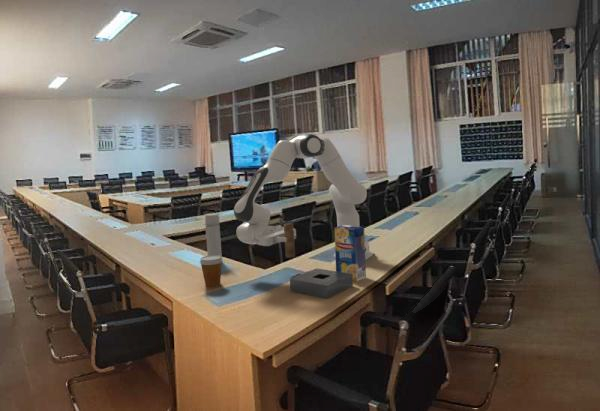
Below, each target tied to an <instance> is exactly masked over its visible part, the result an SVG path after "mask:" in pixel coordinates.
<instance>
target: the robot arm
mask: <svg viewBox="0 0 600 411" xmlns="http://www.w3.org/2000/svg"><path fill="white" fill-rule="evenodd" d="M309 158H314V159H316V162H317V163H318V166H319V168H320V169H321V171H322V173H323V175H324V176H325V178H326V179H327V181H329V182H330V183H331V184H330V186H329V188H328V194H329V196H330V198H331V200H332V203H333V206H334V210H335V214H336V222H337V223H336V224H337V226H336V227H338V226H343V225H348V226H358V227H361V226H360V214H359V213H358V211H357V209H356V206H355V205H359V204H362V203H364V202H365V201H366V199H367V194H368V193H367V192H368V190H367V189H366V186H364V185H363V184H362V183H361V182H359V181H358V179H357V178H356V177H355V176H354V175H353V173H352V172H351V171H350V169H348V167H347V165H346V163H345V162H344V160H343V158H342V157H341V155H340V152H339V150H337V148H336V146H335V145H334V144H333V142H332V141H331V139H329V138H327V137H319V136H318V135H316V134H313V133H307V134H306V133H305V134H299V135H297V136H294V137H292V138H291V139H290V140H286V139H280V140H279V141H278V142H277V143H276V144H275V145H274V148H273V149H272V151H271V153H270V155H269V156H268V159H267V161H266V162H265V164H264V165H263V166H262V167H259V169H258V170H257V171H256V172H255V174H254V175H253V176H252V178H251V180H250V181H249V183H248V185H247V186H246V188H245V190H244V192H243V193H242V195H241V196H240V197H239V199H238V200H237V201H236V202H235V204H234V207H233V215H234V217H235V219H236V220H238V221H239V222H243V223H241V224H240V225H239V226H237V228H236V233H235V234H236V237H237V239H238V240H239V241H240V242H242V243H244V244H249V245H259V246H263V247H270V246H273V245H276V244H278V243H285V242H287V241H288V237H284V226H282V225H280V224H279V225H270V224H269V223H270V220H271V212H270V210H269V209H268V208H267V207H265V206H264V205H263V206H262V205H261V204H258V203H257V202H255V200H256V199H257V196H258V195H259V193H260V191H261V190H262V188H263V186H264V185H265V184H267V183H280V182H282V181H284V180H286V178H287V176H288V175H289V173H290V170H291V167H292V165H293V163H294V161H295V159H309ZM296 239H297V229H296V228H294V240H296ZM373 254H375V252H374V251H371V250H370V244H369V242H368V241H366V240H365V261H367V260H368V259H370V258H371V257H373V256H374V255H373ZM333 257H334V259H335V260H336V257H335V253H334V254H333Z"/></svg>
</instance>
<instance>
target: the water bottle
mask: <svg viewBox="0 0 600 411" xmlns="http://www.w3.org/2000/svg"><path fill="white" fill-rule="evenodd" d="M204 216H205V219H204V221H205V222H204V224H203V225H204V226H205V238H206V249H207V250H206V251H207V256H210V255H219V256H221V258H222V243H221V228H220V227H221V226H220V217H219V216H220V215H219V213H206V214H205V215H204ZM222 259H223V258H222Z"/></svg>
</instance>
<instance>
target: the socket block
mask: <svg viewBox="0 0 600 411" xmlns="http://www.w3.org/2000/svg"><path fill="white" fill-rule="evenodd" d="M353 282H354V281H353V277H352V274H350V273H343V272H337V271H336V270H335V271H334V270H330V269H329V270H328V269H323V268H319V267H318V268H314V269H311V270H308V271H306V272H304V273H301V274H299V275H296V276H294V277H292V278H289V288H290V292H293V293H297V294H302V295H308V296H313V297H317V298H322V299H327V300H328V299H330V298H332V297H334V296H336V295H338V294H340V293H342V292H344V291H345V290H348V289H349V288H352V287H353V286H354V283H353Z"/></svg>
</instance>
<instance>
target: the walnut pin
mask: <svg viewBox="0 0 600 411" xmlns="http://www.w3.org/2000/svg"><path fill="white" fill-rule="evenodd" d="M283 227H284V237H288V241H287V242H284V248H285V250H284V251H285V258H287V259H292V258H295V257H296V249H295V246H296V245H295V239H294V229H295V228H294V223H292V222H290V223H289V222H288V223H283Z"/></svg>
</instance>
